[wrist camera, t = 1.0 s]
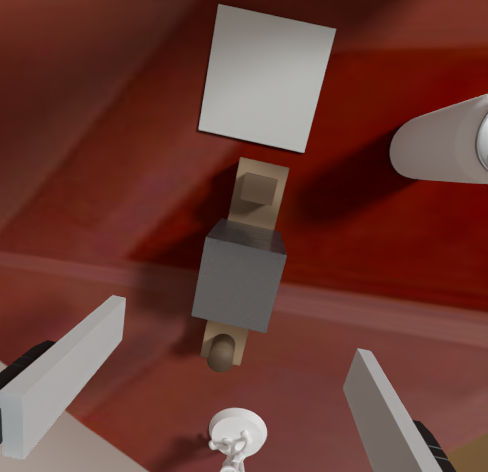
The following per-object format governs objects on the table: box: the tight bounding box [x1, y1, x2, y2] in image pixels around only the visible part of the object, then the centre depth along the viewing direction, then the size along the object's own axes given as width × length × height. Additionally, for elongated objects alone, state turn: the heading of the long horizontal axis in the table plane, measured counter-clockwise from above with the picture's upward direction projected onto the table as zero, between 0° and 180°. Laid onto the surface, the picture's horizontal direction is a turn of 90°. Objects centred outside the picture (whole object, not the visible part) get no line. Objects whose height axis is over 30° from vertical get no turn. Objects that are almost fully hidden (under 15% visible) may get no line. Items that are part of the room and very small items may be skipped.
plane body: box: [200, 157, 289, 372], centre depth 30 cm, size 24×5×7 cm, turn 168°
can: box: [390, 94, 488, 184], centre depth 23 cm, size 6×6×12 cm
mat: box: [198, 4, 336, 153], centre depth 28 cm, size 12×12×1 cm
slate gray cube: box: [191, 218, 287, 333], centre depth 25 cm, size 7×6×8 cm
